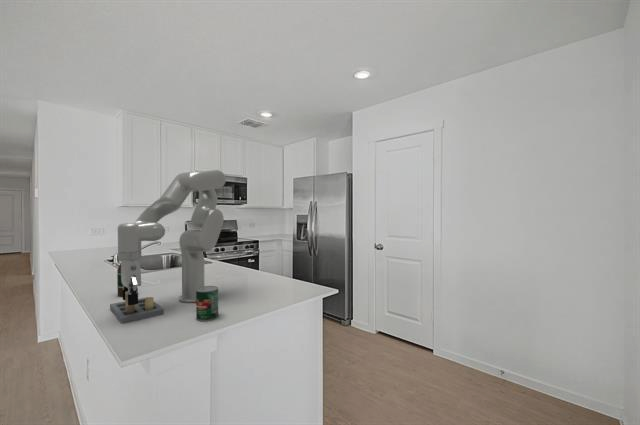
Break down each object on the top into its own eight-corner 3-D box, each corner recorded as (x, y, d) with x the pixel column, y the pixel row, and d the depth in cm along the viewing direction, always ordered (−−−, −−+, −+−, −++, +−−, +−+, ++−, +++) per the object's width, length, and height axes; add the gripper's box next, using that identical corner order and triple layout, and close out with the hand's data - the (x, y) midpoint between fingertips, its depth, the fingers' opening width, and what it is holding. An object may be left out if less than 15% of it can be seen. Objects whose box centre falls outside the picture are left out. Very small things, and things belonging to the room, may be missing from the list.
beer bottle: (140, 293, 145) (140, 244, 144) (125, 298, 137) (124, 246, 137) (128, 292, 147) (128, 243, 147) (113, 296, 140) (112, 245, 139)
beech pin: (135, 317, 113) (135, 291, 112) (126, 319, 110) (126, 292, 110) (133, 315, 115) (133, 289, 115) (124, 317, 113) (124, 291, 112)
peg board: (163, 314, 116) (163, 298, 116) (121, 323, 106) (121, 307, 106) (148, 301, 132) (148, 288, 132) (110, 309, 122) (109, 294, 122)
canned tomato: (220, 313, 117) (220, 285, 117) (216, 320, 109) (216, 290, 109) (199, 314, 116) (199, 286, 116) (193, 321, 108) (193, 291, 108)
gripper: (147, 257, 109) (147, 305, 109) (135, 252, 121) (136, 295, 121) (123, 260, 104) (123, 310, 104) (113, 254, 116) (114, 299, 116)
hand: (130, 301), depth 113 cm, fingers open, 8 cm apart
